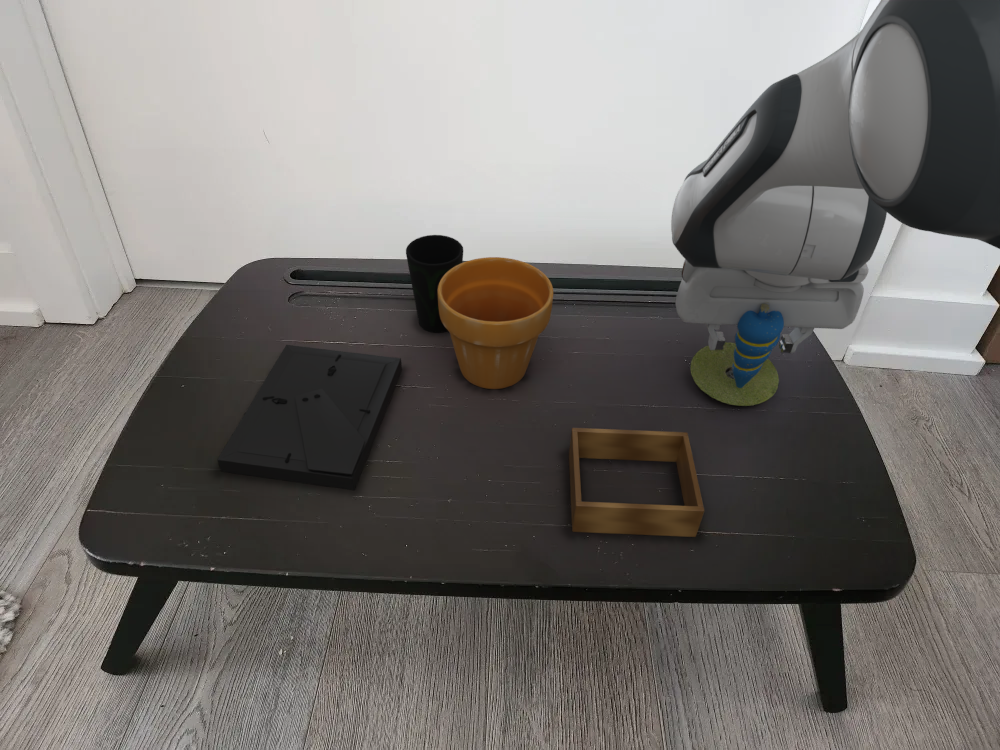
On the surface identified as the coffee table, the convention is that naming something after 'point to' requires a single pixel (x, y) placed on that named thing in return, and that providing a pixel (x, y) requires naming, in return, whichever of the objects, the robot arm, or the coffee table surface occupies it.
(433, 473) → the coffee table surface
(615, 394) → the coffee table surface
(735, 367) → the ornament
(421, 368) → the coffee table surface
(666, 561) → the coffee table surface
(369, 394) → the picture frame
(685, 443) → the wooden box
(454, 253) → the cup
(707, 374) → the green flat round disc
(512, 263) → the flower pot
